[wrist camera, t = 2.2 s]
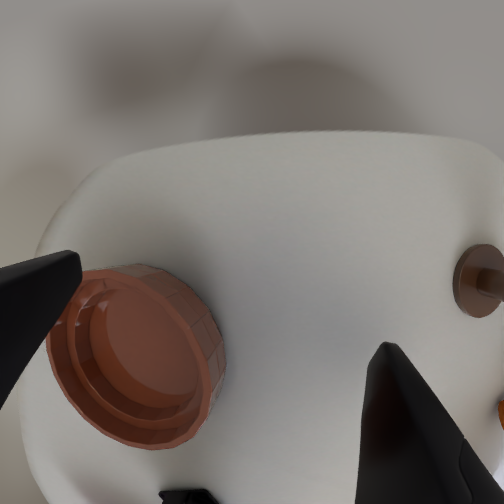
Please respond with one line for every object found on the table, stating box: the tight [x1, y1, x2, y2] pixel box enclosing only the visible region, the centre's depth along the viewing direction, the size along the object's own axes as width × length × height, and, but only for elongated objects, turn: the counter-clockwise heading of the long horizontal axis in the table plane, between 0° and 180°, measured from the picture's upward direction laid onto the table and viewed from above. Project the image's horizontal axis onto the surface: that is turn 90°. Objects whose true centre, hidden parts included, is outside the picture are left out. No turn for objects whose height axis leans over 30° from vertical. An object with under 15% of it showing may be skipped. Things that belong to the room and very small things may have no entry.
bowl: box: [46, 264, 226, 450], centre depth 20 cm, size 14×14×5 cm
